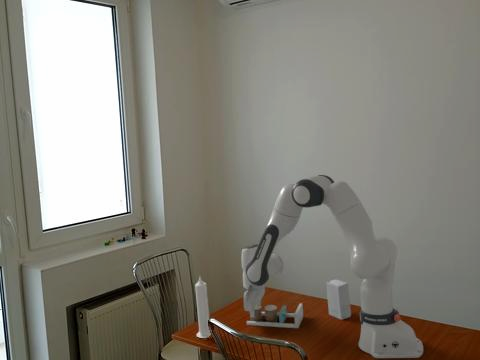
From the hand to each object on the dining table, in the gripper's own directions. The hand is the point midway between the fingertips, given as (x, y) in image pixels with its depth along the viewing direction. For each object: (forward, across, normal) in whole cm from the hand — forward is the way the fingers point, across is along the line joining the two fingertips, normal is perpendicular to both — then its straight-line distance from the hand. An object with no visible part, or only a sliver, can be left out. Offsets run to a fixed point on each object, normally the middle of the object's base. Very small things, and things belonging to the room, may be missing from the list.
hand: (255, 312), depth 206 cm
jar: (+3, 0, 0) cm, 3 cm away
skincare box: (+3, +9, -34) cm, 36 cm away
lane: (+3, 0, -8) cm, 9 cm away
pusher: (+3, 0, -14) cm, 14 cm away
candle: (+3, -18, +17) cm, 25 cm away
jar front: (+3, 0, -7) cm, 7 cm away
